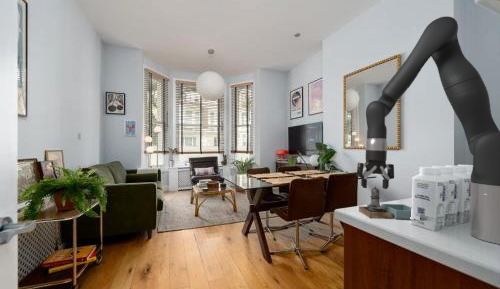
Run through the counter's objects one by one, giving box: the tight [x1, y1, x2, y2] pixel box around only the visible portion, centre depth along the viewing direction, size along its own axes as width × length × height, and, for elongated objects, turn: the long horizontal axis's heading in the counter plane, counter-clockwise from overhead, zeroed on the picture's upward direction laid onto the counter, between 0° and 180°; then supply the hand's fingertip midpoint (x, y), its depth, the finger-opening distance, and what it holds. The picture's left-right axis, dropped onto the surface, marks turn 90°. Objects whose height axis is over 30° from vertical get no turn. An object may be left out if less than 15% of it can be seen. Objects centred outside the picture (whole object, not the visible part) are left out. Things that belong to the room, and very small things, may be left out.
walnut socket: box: [358, 205, 394, 220], centre depth 86 cm, size 9×9×2 cm
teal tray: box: [380, 203, 412, 221], centre depth 86 cm, size 10×10×4 cm
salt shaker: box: [366, 186, 383, 213], centre depth 86 cm, size 6×6×12 cm
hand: (374, 188), depth 86 cm, fingers open, 8 cm apart
